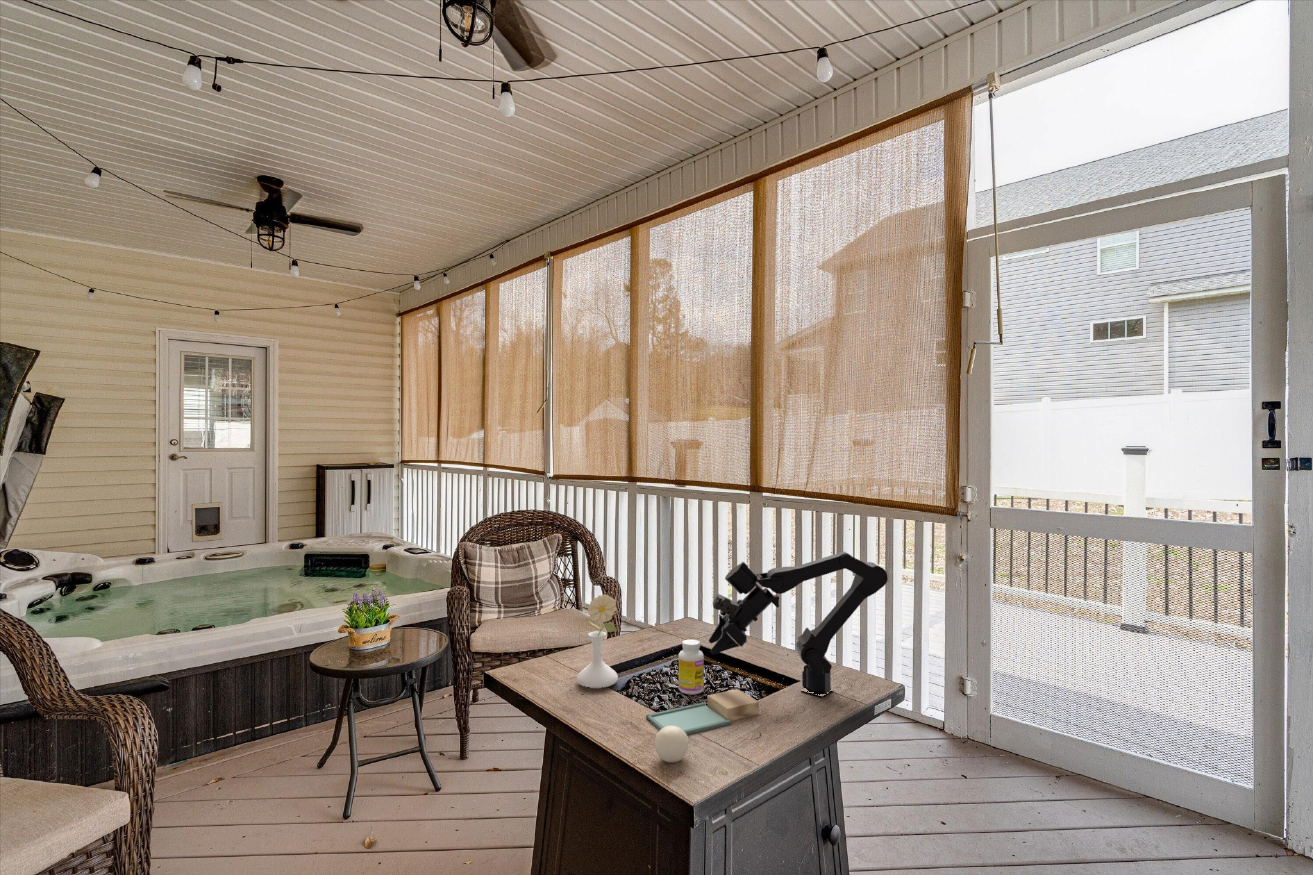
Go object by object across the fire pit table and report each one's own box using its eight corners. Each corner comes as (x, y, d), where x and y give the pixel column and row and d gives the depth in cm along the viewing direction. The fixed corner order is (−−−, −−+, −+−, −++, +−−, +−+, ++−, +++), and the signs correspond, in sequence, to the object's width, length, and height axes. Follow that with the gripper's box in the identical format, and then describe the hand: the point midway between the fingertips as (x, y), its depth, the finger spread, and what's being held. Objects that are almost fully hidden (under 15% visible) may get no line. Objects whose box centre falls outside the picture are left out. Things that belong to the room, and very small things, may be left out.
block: (737, 700, 157) (737, 688, 157) (758, 714, 149) (758, 701, 149) (707, 707, 153) (707, 695, 153) (727, 721, 144) (727, 708, 145)
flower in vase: (567, 685, 168) (567, 593, 168) (597, 673, 176) (597, 586, 177) (601, 697, 159) (600, 600, 160) (631, 684, 168) (630, 592, 169)
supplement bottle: (696, 697, 159) (695, 647, 159) (674, 692, 163) (673, 643, 163) (708, 688, 165) (707, 640, 165) (686, 684, 168) (686, 636, 169)
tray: (703, 705, 154) (703, 702, 154) (730, 724, 143) (730, 720, 143) (646, 718, 147) (646, 714, 147) (669, 738, 136) (669, 735, 136)
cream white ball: (696, 759, 127) (696, 726, 127) (672, 772, 122) (671, 738, 122) (673, 748, 132) (672, 716, 132) (648, 760, 127) (648, 727, 127)
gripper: (727, 577, 173) (688, 616, 173) (733, 592, 155) (689, 636, 155) (755, 605, 173) (716, 644, 173) (765, 624, 154) (721, 668, 154)
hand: (710, 647), depth 164 cm, fingers open, 9 cm apart
